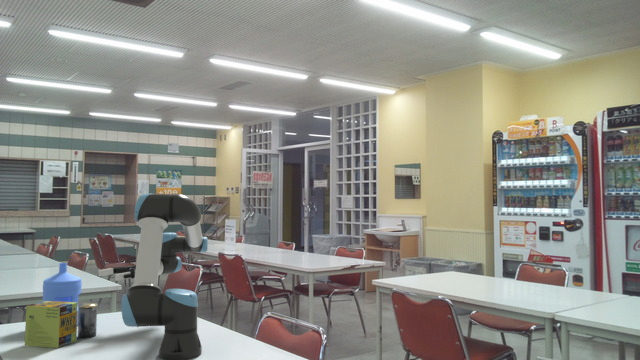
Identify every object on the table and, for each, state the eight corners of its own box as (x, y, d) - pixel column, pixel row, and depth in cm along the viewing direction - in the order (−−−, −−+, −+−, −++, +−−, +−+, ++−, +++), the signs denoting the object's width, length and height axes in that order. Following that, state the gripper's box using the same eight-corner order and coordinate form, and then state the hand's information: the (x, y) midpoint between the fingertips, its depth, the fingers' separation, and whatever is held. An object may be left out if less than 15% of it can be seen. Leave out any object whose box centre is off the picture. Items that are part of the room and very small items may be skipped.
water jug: (32, 328, 217) (35, 264, 219) (61, 320, 232) (63, 261, 234) (61, 331, 213) (63, 266, 214) (88, 323, 228) (90, 262, 229)
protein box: (58, 348, 188) (59, 307, 189) (24, 346, 191) (25, 305, 192) (77, 341, 199) (78, 302, 199) (44, 338, 202) (45, 300, 202)
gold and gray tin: (99, 336, 206) (100, 304, 207) (82, 339, 200) (82, 307, 201) (91, 333, 211) (92, 302, 211) (74, 336, 205) (75, 304, 206)
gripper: (166, 280, 221) (123, 288, 204) (135, 273, 236) (92, 280, 220) (167, 263, 221) (123, 270, 204) (135, 257, 236) (92, 263, 219)
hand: (107, 275), depth 212 cm, fingers open, 13 cm apart
